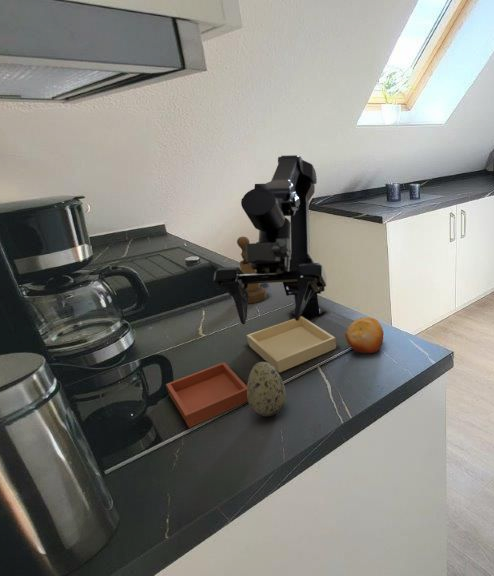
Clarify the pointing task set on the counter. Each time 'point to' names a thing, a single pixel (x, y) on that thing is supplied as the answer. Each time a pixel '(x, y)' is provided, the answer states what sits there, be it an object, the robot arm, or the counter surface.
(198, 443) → the counter surface
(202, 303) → the counter surface
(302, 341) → the sand tray
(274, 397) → the decorative egg
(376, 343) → the fruit
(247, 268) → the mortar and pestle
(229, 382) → the terracotta tray
